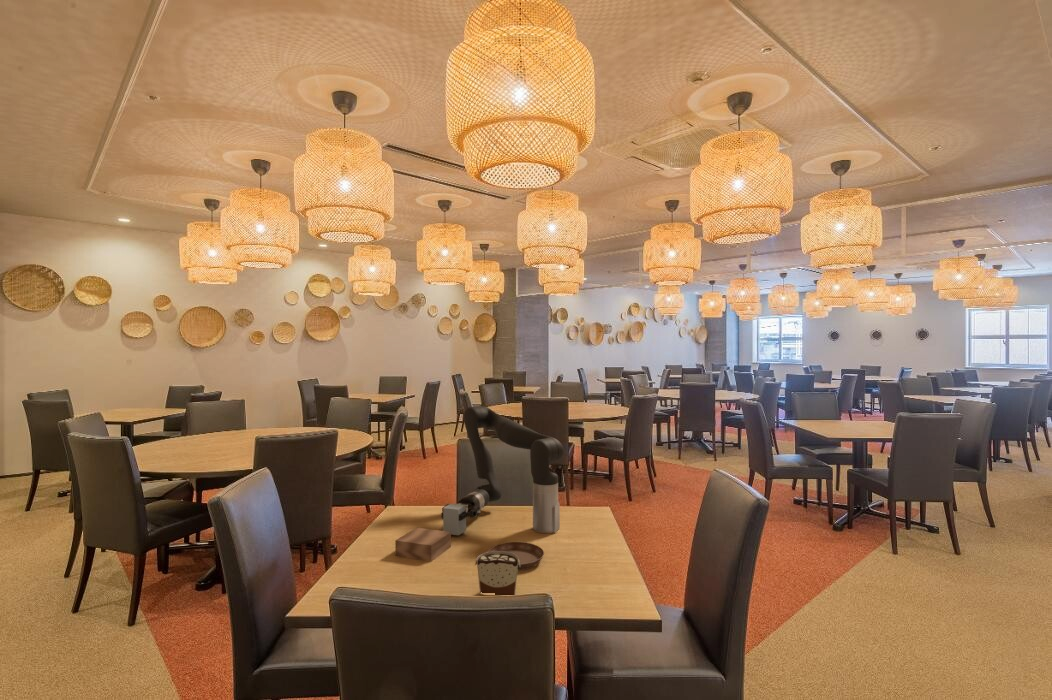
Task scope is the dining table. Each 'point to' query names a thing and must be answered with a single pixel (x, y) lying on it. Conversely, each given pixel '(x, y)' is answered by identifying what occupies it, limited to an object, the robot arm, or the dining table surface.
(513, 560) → the cake slice
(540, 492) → the robot arm
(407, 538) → the walnut block
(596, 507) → the dining table surface
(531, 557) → the plant saucer
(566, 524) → the dining table surface
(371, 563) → the dining table surface
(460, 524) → the slate block
